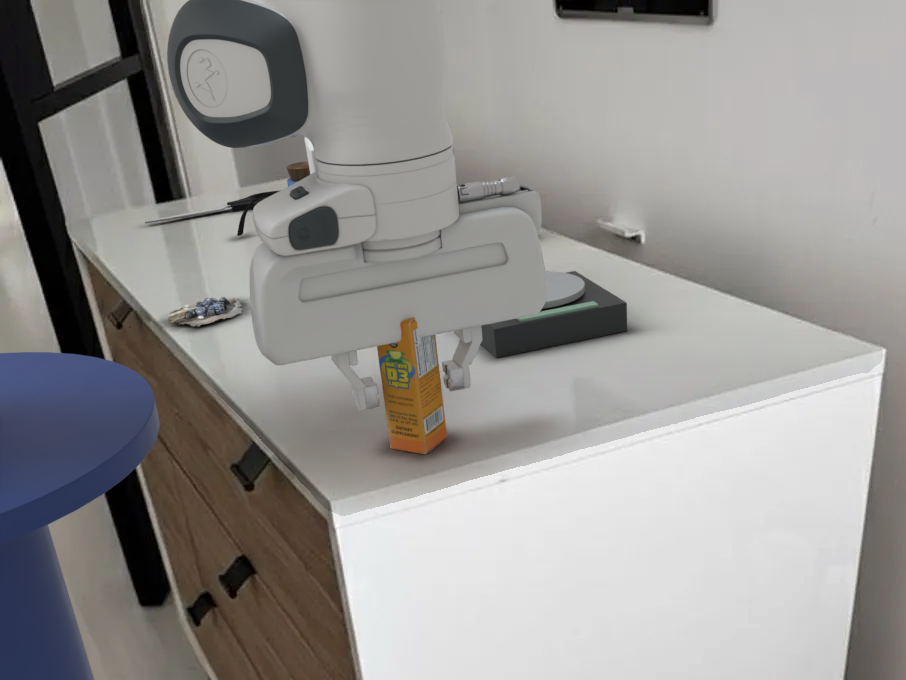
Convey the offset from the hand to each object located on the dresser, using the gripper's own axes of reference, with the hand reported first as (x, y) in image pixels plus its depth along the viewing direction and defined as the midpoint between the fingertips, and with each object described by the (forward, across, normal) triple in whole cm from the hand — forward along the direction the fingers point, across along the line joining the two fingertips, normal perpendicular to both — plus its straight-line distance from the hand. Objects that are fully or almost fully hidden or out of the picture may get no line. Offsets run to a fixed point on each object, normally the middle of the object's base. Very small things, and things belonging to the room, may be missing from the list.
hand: (412, 397), depth 86 cm
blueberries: (+4, +9, -40) cm, 41 cm away
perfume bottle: (+4, -3, -42) cm, 42 cm away
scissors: (+4, +1, -82) cm, 82 cm away
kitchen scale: (+4, -17, -19) cm, 26 cm away
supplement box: (+4, 0, 0) cm, 4 cm away
